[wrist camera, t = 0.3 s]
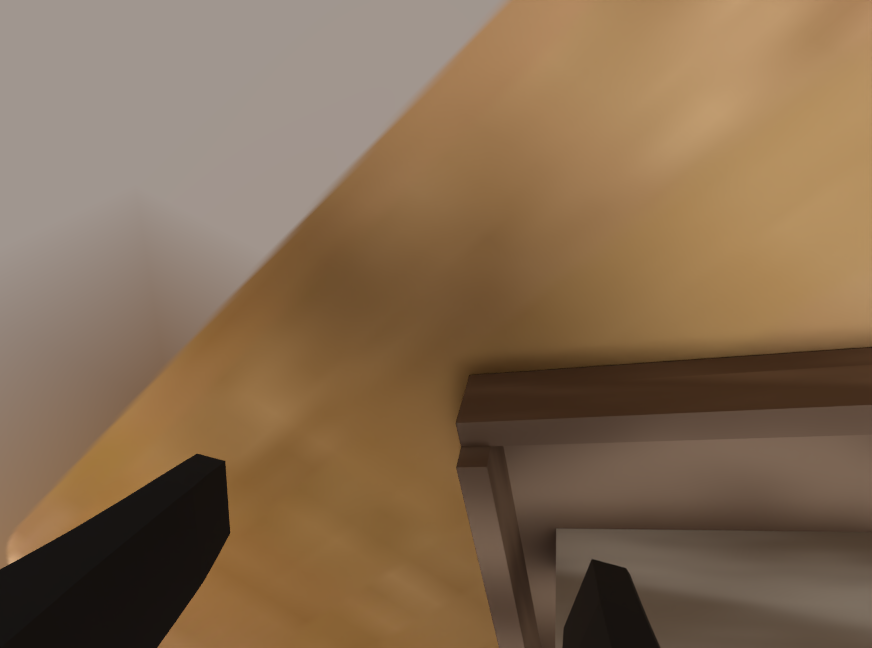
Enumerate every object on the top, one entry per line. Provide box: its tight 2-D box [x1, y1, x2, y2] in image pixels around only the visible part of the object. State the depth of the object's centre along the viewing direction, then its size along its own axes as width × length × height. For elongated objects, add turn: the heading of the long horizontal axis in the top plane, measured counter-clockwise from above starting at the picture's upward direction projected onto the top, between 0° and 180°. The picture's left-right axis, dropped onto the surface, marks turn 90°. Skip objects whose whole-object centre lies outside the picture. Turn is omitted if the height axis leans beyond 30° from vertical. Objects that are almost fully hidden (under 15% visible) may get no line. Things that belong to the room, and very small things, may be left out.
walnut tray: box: [456, 347, 872, 648], centre depth 19 cm, size 16×22×4 cm
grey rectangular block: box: [555, 529, 872, 648], centre depth 18 cm, size 2×11×6 cm, turn 102°
